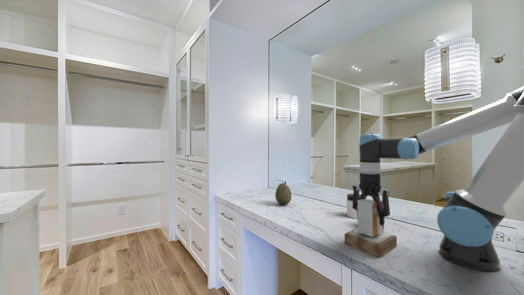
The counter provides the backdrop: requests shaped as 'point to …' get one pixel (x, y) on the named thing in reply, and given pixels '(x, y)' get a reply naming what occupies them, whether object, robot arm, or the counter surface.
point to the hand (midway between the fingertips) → (370, 229)
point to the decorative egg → (283, 194)
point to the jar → (350, 210)
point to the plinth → (371, 242)
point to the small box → (368, 216)
